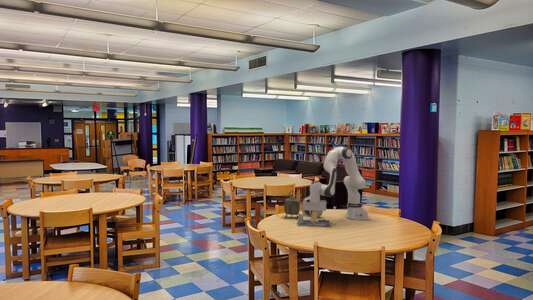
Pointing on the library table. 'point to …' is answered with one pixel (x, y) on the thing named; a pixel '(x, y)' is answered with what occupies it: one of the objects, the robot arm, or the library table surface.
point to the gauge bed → (320, 222)
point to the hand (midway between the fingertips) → (314, 215)
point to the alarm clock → (306, 212)
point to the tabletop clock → (292, 205)
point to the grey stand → (314, 217)
